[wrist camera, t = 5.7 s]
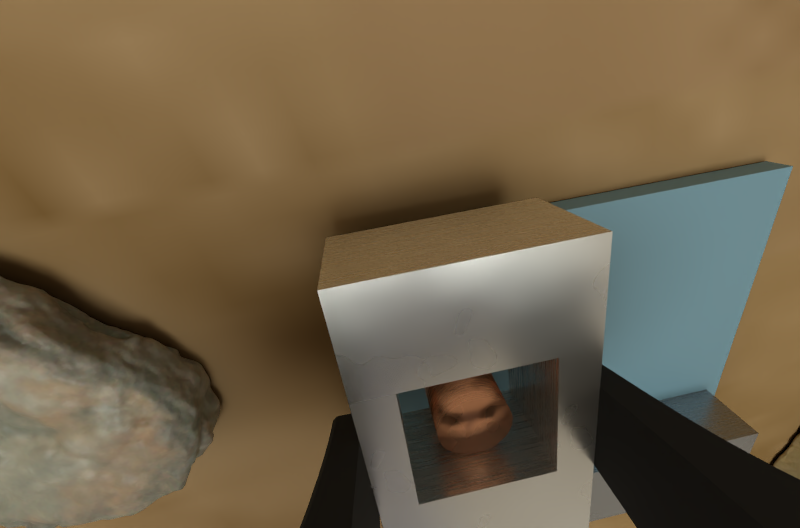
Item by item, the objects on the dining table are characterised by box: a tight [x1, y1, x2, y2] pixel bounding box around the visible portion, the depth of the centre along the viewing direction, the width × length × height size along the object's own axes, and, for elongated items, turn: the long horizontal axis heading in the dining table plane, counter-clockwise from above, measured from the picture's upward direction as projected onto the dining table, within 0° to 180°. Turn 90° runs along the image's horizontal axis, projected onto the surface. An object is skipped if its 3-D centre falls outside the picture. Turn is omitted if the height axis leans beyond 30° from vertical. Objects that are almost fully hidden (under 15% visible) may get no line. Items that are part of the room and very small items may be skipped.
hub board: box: [398, 161, 793, 414], centre depth 15 cm, size 16×14×1 cm
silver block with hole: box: [317, 198, 613, 528], centre depth 10 cm, size 6×9×3 cm, turn 8°
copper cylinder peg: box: [425, 373, 513, 454], centre depth 11 cm, size 2×2×3 cm
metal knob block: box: [589, 390, 758, 522], centre depth 15 cm, size 3×8×5 cm, turn 98°
